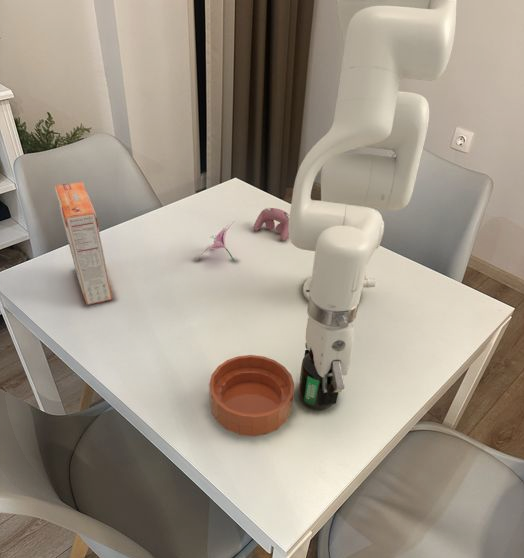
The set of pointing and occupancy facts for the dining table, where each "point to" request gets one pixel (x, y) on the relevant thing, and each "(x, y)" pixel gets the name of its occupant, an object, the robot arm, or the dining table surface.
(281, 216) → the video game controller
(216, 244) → the lily
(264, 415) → the bowl
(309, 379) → the supplement bottle
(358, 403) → the dining table surface
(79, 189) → the cracker box
